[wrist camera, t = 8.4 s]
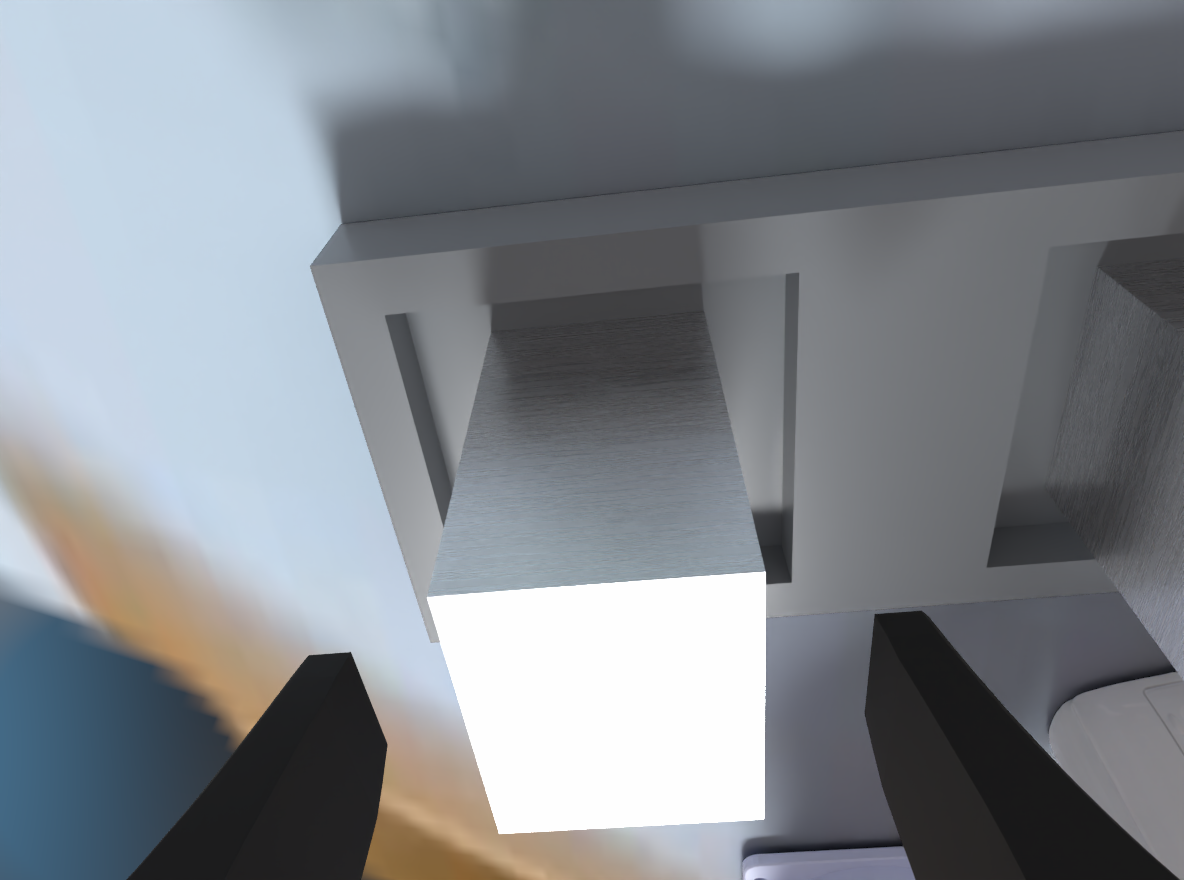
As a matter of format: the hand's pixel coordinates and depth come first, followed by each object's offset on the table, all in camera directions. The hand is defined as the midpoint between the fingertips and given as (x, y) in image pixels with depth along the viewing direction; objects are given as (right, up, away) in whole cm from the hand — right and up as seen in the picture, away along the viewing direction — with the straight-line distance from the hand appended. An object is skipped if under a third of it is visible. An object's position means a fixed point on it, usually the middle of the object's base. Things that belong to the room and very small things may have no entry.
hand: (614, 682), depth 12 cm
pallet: (+5, +5, +6) cm, 9 cm away
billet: (0, +4, +5) cm, 6 cm away
